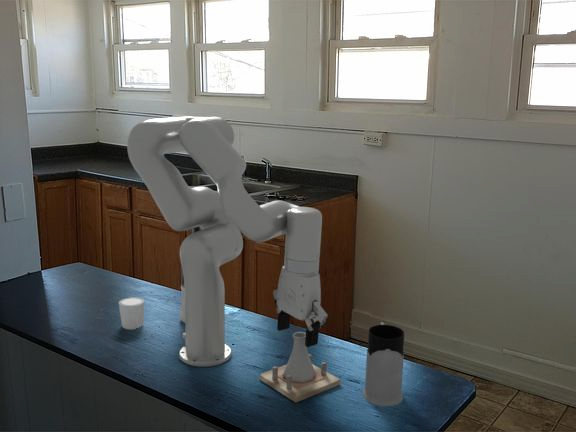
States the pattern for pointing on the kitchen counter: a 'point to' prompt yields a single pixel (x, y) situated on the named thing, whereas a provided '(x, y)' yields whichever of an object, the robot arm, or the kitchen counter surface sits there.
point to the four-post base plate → (297, 389)
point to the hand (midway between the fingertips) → (297, 337)
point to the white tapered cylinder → (132, 312)
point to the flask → (299, 361)
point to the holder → (384, 365)
